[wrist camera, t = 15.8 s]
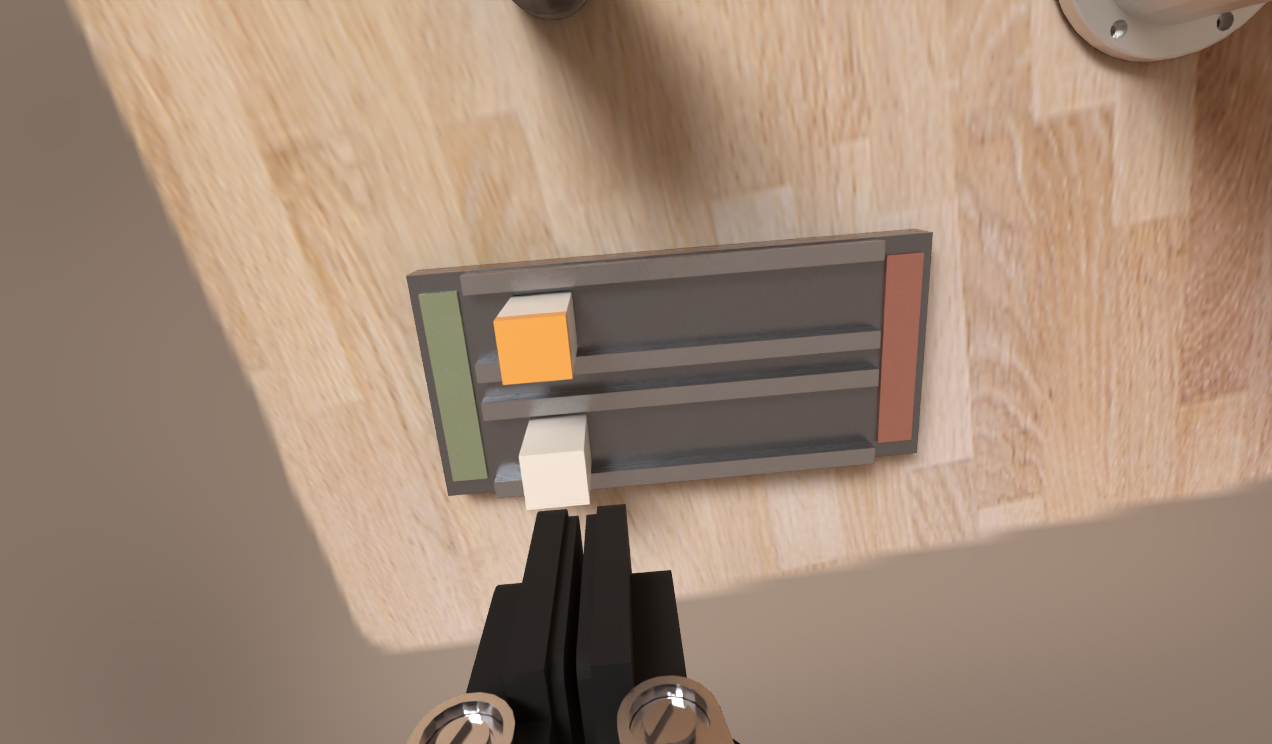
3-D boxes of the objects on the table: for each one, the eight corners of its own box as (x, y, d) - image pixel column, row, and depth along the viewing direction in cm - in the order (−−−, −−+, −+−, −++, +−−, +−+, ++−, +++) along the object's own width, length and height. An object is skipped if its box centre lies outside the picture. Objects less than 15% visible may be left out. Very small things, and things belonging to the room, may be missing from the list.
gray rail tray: (914, 228, 35) (942, 234, 32) (901, 439, 39) (925, 460, 36) (417, 270, 34) (400, 279, 32) (456, 479, 38) (444, 504, 36)
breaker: (586, 412, 35) (583, 450, 30) (591, 460, 36) (589, 504, 31) (529, 417, 35) (518, 456, 30) (536, 465, 36) (526, 510, 31)
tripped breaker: (571, 291, 33) (565, 315, 28) (577, 345, 34) (572, 378, 28) (511, 296, 33) (493, 321, 27) (519, 350, 34) (502, 385, 28)
